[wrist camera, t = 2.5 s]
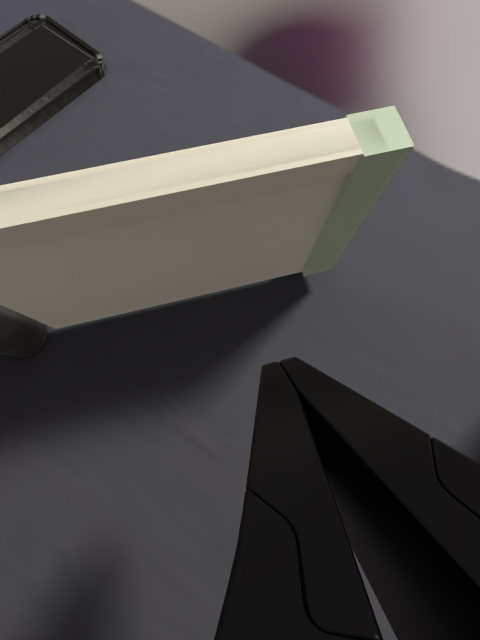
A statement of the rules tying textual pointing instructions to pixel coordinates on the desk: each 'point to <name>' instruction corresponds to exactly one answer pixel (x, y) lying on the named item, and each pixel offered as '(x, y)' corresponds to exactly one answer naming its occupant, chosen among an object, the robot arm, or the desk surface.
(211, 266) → the bar
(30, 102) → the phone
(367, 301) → the desk surface
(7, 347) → the garden fence
